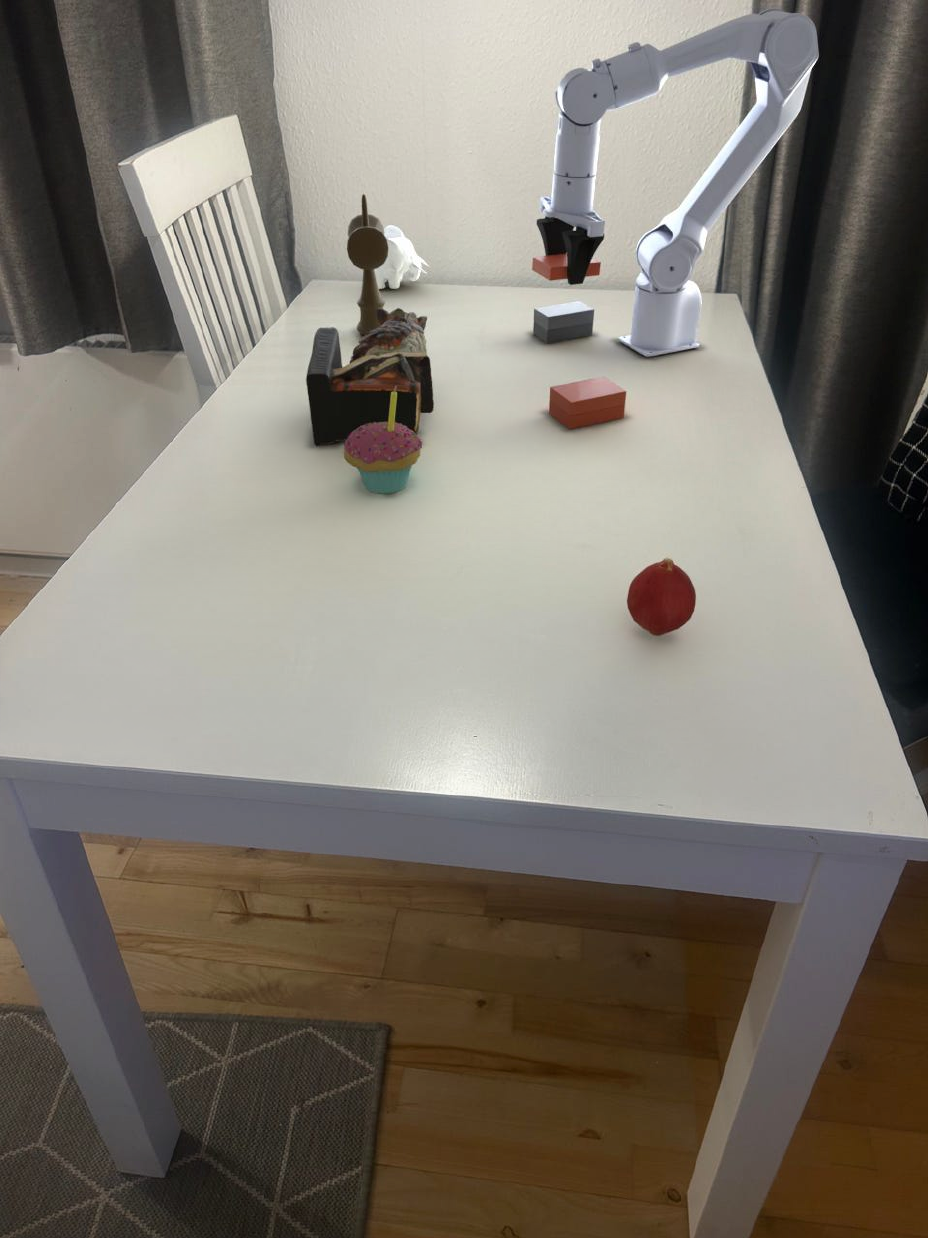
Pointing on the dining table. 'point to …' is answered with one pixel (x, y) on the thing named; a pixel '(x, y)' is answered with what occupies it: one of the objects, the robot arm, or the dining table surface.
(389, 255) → the elephant figurine
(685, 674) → the dining table surface
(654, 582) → the onion
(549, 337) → the dark grey rectangular block
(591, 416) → the red rectangular block
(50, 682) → the dining table surface
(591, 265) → the flat red block
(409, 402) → the bookend
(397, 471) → the cupcake
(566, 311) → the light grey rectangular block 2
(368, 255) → the kendama
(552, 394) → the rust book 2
